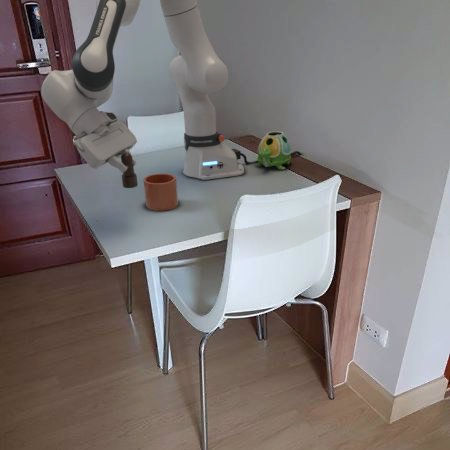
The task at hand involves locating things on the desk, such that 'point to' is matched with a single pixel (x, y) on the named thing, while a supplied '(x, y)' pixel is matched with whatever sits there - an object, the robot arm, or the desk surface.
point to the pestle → (128, 172)
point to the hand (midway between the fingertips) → (130, 167)
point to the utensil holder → (160, 192)
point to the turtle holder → (274, 150)
